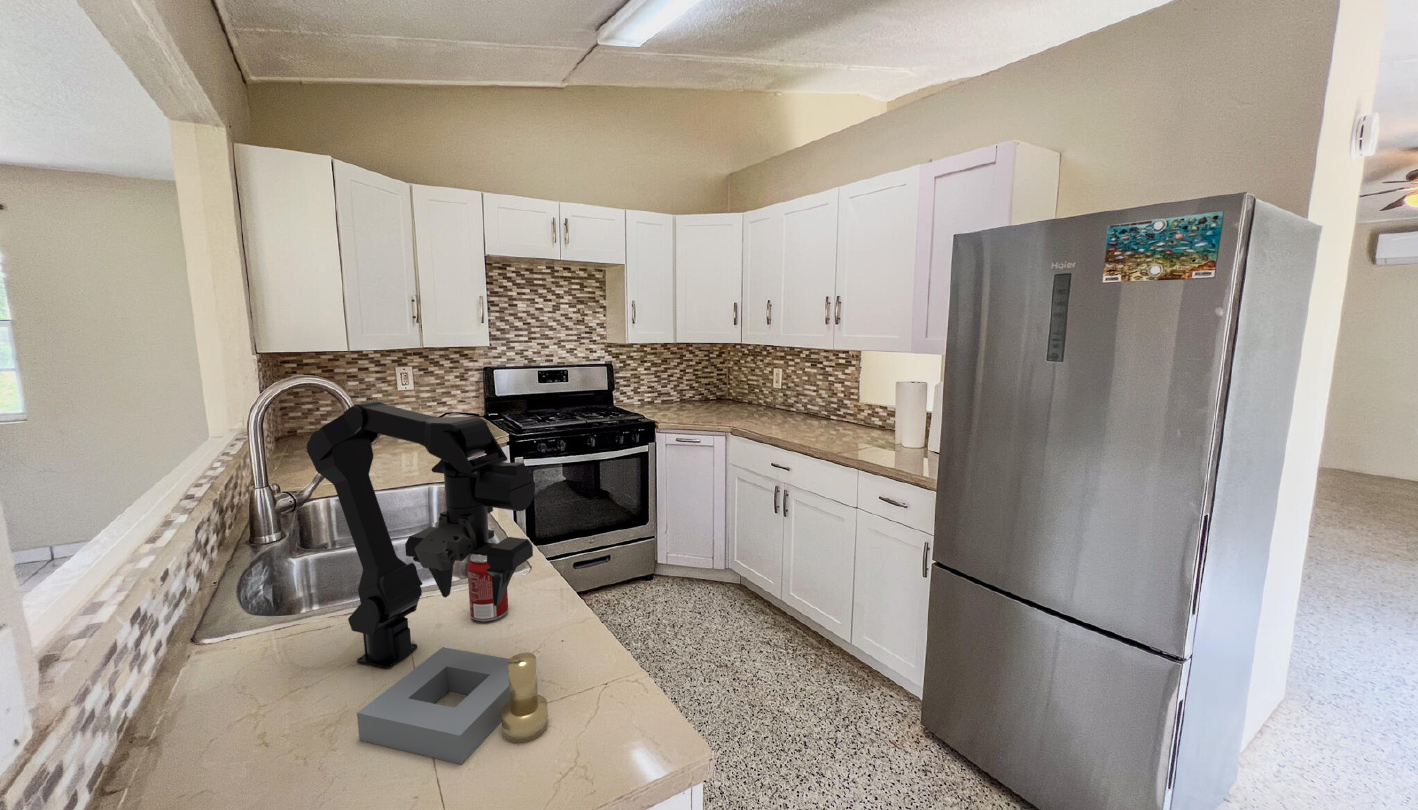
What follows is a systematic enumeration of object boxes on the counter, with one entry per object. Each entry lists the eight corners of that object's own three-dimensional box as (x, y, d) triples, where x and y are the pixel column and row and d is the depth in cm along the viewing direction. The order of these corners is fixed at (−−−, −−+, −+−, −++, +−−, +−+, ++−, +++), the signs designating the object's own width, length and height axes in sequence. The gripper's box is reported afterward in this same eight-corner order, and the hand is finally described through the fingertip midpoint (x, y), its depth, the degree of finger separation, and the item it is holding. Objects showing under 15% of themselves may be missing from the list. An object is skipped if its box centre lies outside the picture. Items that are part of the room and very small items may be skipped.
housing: (359, 740, 76) (356, 712, 75) (444, 670, 91) (442, 647, 91) (461, 764, 72) (459, 735, 71) (532, 686, 87) (531, 662, 86)
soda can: (495, 626, 104) (492, 563, 103) (462, 622, 106) (458, 560, 104) (515, 608, 111) (512, 549, 109) (484, 604, 112) (480, 546, 111)
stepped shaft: (492, 738, 76) (488, 669, 75) (519, 709, 82) (515, 644, 80) (532, 747, 75) (529, 676, 73) (556, 717, 80) (553, 651, 79)
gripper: (371, 513, 80) (379, 617, 82) (485, 527, 75) (490, 637, 77) (429, 491, 91) (435, 583, 93) (533, 502, 86) (536, 599, 88)
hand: (471, 600), depth 87 cm, fingers open, 9 cm apart
